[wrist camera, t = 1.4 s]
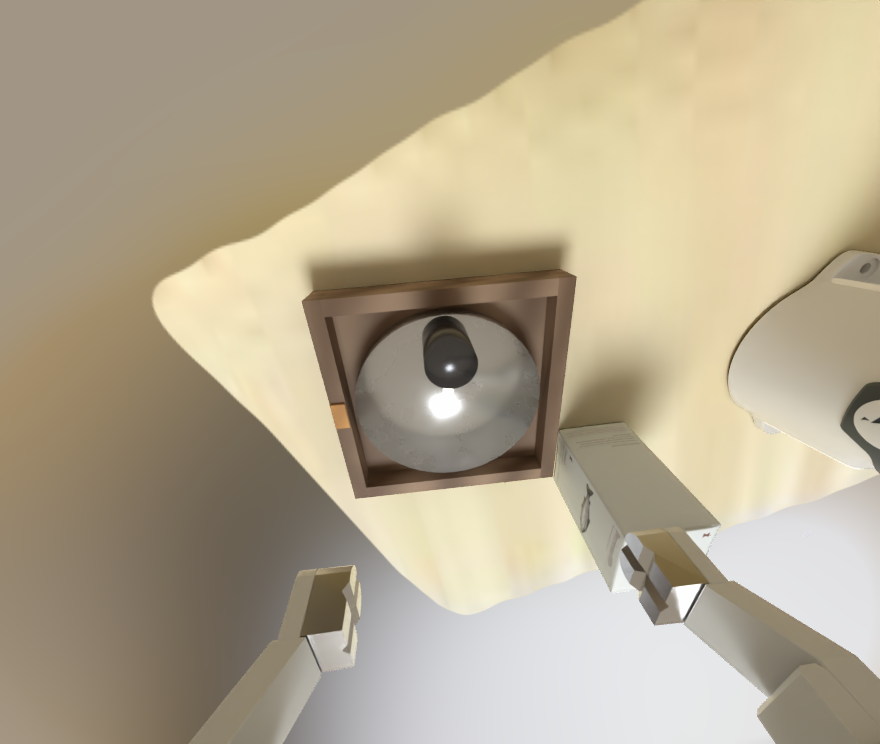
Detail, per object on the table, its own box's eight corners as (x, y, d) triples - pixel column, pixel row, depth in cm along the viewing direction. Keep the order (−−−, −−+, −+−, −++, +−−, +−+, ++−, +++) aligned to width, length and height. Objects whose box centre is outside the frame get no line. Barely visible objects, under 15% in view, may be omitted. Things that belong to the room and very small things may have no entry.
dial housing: (560, 269, 27) (577, 277, 24) (542, 456, 36) (553, 478, 33) (313, 291, 26) (300, 302, 23) (359, 476, 35) (355, 500, 32)
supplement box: (556, 428, 34) (626, 537, 23) (625, 420, 34) (727, 524, 23) (551, 479, 38) (609, 596, 27) (613, 471, 38) (698, 584, 27)
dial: (528, 451, 34) (553, 504, 28) (374, 467, 33) (365, 526, 27) (538, 299, 26) (576, 327, 20) (340, 317, 26) (319, 352, 20)
